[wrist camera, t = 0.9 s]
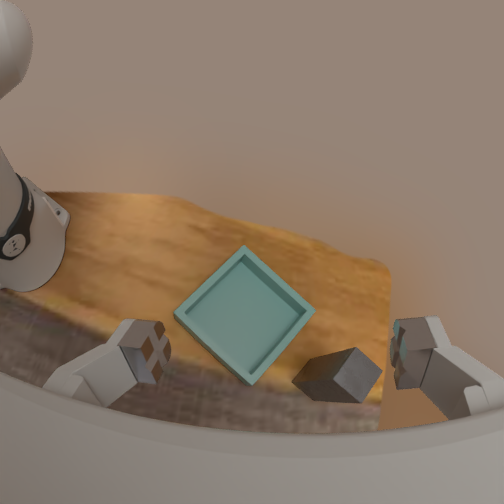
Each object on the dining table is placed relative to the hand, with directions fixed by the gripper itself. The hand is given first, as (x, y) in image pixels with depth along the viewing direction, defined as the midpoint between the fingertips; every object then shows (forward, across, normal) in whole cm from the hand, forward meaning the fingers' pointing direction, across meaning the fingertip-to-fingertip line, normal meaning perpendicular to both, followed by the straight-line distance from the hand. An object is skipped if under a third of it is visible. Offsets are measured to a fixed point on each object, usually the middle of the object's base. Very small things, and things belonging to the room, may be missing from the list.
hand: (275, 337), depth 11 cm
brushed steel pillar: (+24, -1, +30) cm, 38 cm away
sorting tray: (+28, +9, +21) cm, 36 cm away
